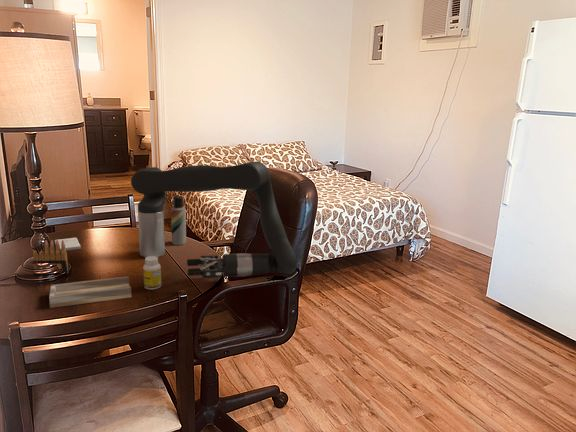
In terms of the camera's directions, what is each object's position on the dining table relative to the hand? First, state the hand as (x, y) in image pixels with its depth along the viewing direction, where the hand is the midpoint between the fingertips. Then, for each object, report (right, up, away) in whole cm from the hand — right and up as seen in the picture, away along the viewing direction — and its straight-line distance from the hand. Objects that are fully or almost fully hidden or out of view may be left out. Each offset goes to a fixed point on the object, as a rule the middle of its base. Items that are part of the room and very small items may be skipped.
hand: (187, 267), depth 146 cm
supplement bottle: (-11, -6, -1) cm, 13 cm away
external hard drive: (-55, +4, +34) cm, 65 cm away
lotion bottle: (-13, +5, +41) cm, 44 cm away
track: (-27, -8, -9) cm, 30 cm away
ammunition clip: (-47, -3, +6) cm, 47 cm away
